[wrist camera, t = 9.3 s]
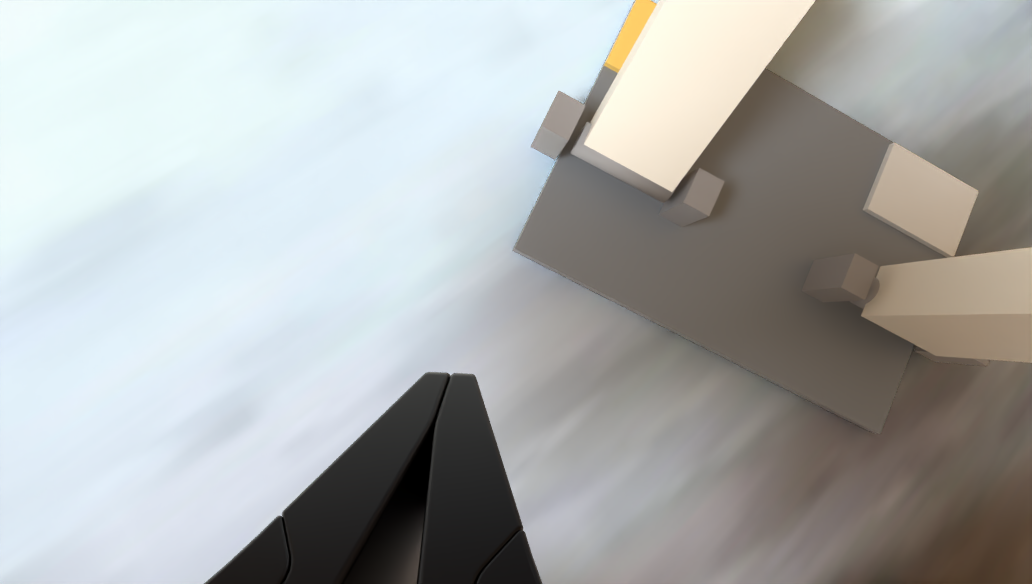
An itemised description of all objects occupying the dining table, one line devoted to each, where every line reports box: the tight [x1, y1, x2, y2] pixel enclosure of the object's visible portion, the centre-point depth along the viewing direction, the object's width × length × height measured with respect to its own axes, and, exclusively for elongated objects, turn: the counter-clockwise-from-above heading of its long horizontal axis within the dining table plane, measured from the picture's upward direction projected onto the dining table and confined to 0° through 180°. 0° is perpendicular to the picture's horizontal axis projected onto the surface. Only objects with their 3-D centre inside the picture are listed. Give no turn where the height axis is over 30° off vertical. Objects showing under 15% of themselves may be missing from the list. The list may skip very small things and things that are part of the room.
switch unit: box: [512, 0, 990, 434], centre depth 23 cm, size 13×22×3 cm, turn 64°
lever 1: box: [571, 0, 816, 203], centre depth 18 cm, size 2×4×12 cm
